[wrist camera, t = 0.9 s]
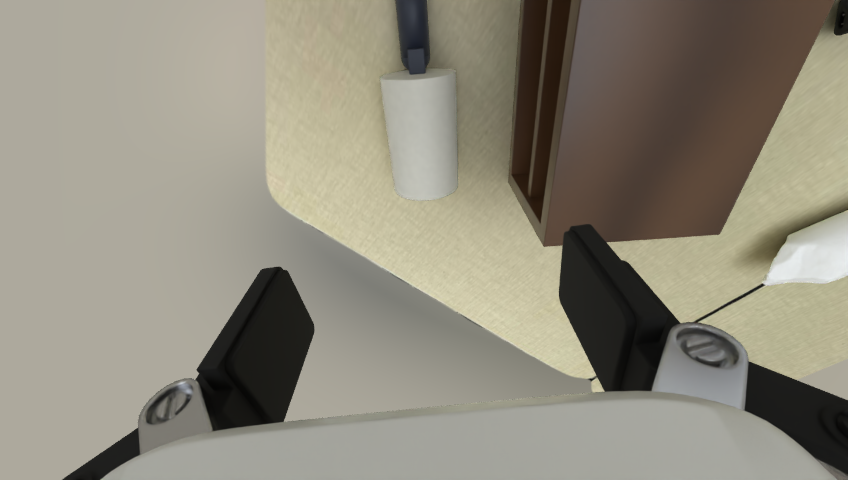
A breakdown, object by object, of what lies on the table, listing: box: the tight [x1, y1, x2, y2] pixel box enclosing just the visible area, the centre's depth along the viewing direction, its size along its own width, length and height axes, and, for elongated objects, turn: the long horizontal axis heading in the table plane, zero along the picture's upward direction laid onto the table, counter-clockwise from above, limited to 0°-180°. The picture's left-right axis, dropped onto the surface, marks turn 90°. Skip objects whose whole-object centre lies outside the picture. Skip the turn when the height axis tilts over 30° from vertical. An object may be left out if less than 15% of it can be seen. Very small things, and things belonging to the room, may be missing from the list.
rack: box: [508, 0, 835, 247], centre depth 23 cm, size 12×18×11 cm, turn 4°
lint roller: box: [380, 0, 458, 201], centre depth 25 cm, size 16×6×6 cm, turn 4°
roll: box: [762, 210, 848, 286], centre depth 34 cm, size 6×12×6 cm, turn 124°
